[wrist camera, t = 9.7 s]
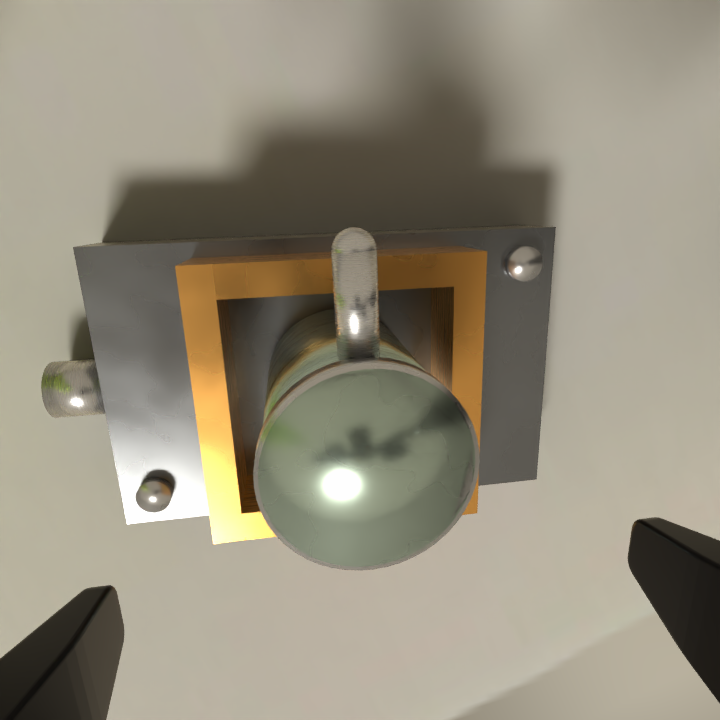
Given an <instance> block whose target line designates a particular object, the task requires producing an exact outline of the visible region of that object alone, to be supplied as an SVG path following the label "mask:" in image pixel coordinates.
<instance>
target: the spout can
mask: <svg viewBox="0 0 720 720" xmlns="http://www.w3.org/2000/svg"><path fill="white" fill-rule="evenodd" d="M331 258H332V275H333V292H334V309H331V310H325V311H321V312H317V313H314V314H312V315H310V316H307V317H305V318H304V319H302V320H300V321H299V322H297V323H296V324H295V325H293V326H292V327H291V328H290V329H289V330H288V331H287V332H286V333H285V334H284V335H283V337H282V338H281V339H280V341H279V342H278V344H277V346H276V348H275V350H274V352H273V355H272V357H271V361H270V365H269V372H268V382H267V391H266V401H265V410H264V420H263V426H262V429H261V431H260V434H259V438H258V442H257V446H256V453H255V461H254V471H253V479H254V490H255V495H256V500H257V503H258V506H259V508H260V511H261V514H262V515H263V517H264V519H265V521H266V523H267V525H268V526H269V527H270V529H271V530H272V531H273V533H274V534H275V535H276V536H277V537H278V538H279V539H280V540H281V541H282V542H283V543H284V544H285V545H286V546H287V547H289V548H290V549H291V550H293V551H294V552H295V553H297V554H299V555H300V556H302V557H304V558H306V559H308V560H310V561H313V562H315V563H318V564H320V565H324V566H328V567H331V568H337V569H344V570H370V569H378V568H383V567H388V566H391V565H394V564H398V563H401V562H403V561H406V560H408V559H410V558H413V557H415V556H416V555H418V554H420V553H422V552H424V551H425V550H427V549H428V548H430V547H431V546H432V545H434V544H435V543H437V542H438V541H439V540H440V539H441V538H442V537H443V536H444V535H446V534H447V533H448V532H449V531H450V529H451V528H452V527H453V526H454V525H455V524H456V523H457V521H458V520H459V518H460V517H461V515H462V514H463V513H464V511H465V509H466V507H467V505H468V503H469V502H470V500H471V497H472V494H473V492H474V489H475V486H476V482H477V478H478V472H479V462H480V460H479V446H478V440H477V435H476V432H475V429H474V426H473V424H472V421H471V420H470V418H469V416H468V414H467V412H466V410H465V409H464V408H463V406H462V405H461V403H460V402H459V401H458V399H457V398H456V397H455V396H454V395H453V394H452V393H451V392H450V391H449V390H448V389H447V388H446V387H445V386H444V385H443V384H442V383H441V382H440V381H439V380H438V379H436V378H435V377H434V376H432V375H431V374H430V373H428V372H427V371H426V370H425V369H424V368H423V367H422V366H421V365H420V364H419V362H418V361H417V360H416V359H415V358H414V357H413V356H412V355H411V353H410V352H409V351H408V350H407V349H406V348H405V347H404V346H403V344H402V343H401V342H400V341H399V340H398V339H397V338H396V337H395V336H394V334H393V333H392V332H391V331H390V330H389V329H388V328H387V327H386V326H385V325H384V324H382V323H381V322H380V321H379V297H378V267H377V246H376V243H375V240H374V238H373V237H372V236H371V234H370V233H368V232H367V231H366V230H364V229H362V228H358V227H350V228H347V229H344V230H342V231H341V232H339V233H338V234H337V236H336V237H335V238H334V240H333V243H332V247H331Z"/></svg>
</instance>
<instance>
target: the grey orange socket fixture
mask: <svg viewBox="0 0 720 720" xmlns="http://www.w3.org/2000/svg"><path fill="white" fill-rule="evenodd" d="M555 228H556V227H546V226H527V225H519V226H495V227H471V228H446V229H422V230H398V231H373V232H368V233H370V234H371V236H372V237H373V238H374V240H375V243H376V246H377V267H378V297H379V321H380V322H381V323H382V324H384V325H385V326H386V327H387V328H388V329H389V330H390V331H391V332H392V333H393V334H394V336H395V337H396V338H397V339H398V340H399V341H400V342H401V343H402V344H403V346H404V347H405V348H406V349H407V350H408V351H409V352H410V353H411V355H412V356H413V357H414V358H415V359H416V360H417V361H418V362H419V364H420V365H421V366H422V367H423V368H424V369H425V370H426V371H427V372H428V373H430V374H431V375H432V376H434V377H435V378H436V379H438V380H439V381H440V382H441V383H442V384H443V385H444V386H445V387H446V388H447V389H448V390H449V391H450V392H451V393H452V394H453V395H454V396H455V397H456V398H457V399H458V401H459V402H460V403H461V405H462V406H463V408H464V409H465V410H466V412H467V414H468V416H469V418H470V420H471V421H472V424H473V426H474V429H475V432H476V435H477V440H478V446H479V460H480V462H479V472H478V478H477V482H476V486H475V489H474V492H473V494H472V497H471V500H470V502H469V503H468V505H467V507H466V509H465V511H464V513H463V514H462V515H465V514H474V513H477V504H478V486H480V485H489V484H498V483H507V482H516V481H525V480H535V479H536V478H537V465H538V452H539V439H540V426H541V412H542V399H543V386H544V373H545V360H546V347H547V333H548V320H549V307H550V294H551V281H552V267H553V254H554V241H555ZM337 234H338V233H324V234H300V235H276V236H251V237H227V238H203V239H178V240H154V241H130V242H105V243H96V244H90V245H84V246H77V247H73V249H74V254H75V259H76V265H77V270H78V275H79V280H80V285H81V290H82V295H83V301H84V306H85V311H86V316H87V321H88V326H89V331H90V336H91V342H92V347H93V352H94V357H95V359H89V360H75V361H60V362H51V363H49V364H48V365H47V366H46V368H45V370H44V373H43V377H42V385H41V389H42V398H43V402H44V405H45V408H46V410H47V411H48V413H49V414H50V415H51V416H52V417H55V418H59V417H71V416H83V415H95V414H106V419H107V424H108V429H109V434H110V439H111V444H112V449H113V455H114V460H115V465H116V470H117V475H118V480H119V485H120V491H121V496H122V501H123V506H124V511H125V516H126V521H127V524H133V523H142V522H151V521H160V520H169V519H179V518H188V517H197V516H206V515H210V522H211V529H212V536H213V544H217V543H225V542H234V541H242V540H251V539H259V538H268V537H277V536H276V535H275V534H274V533H273V531H272V530H271V529H270V527H269V526H268V525H267V523H266V521H265V519H264V517H263V515H262V514H261V511H260V508H259V506H258V503H257V500H256V495H255V490H254V479H253V471H254V461H255V453H256V446H257V442H258V438H259V434H260V431H261V429H262V426H263V420H264V410H265V401H266V391H267V382H268V372H269V365H270V361H271V357H272V355H273V352H274V350H275V348H276V346H277V344H278V342H279V341H280V339H281V338H282V337H283V335H284V334H285V333H286V332H287V331H288V330H289V329H290V328H291V327H292V326H293V325H295V324H296V323H297V322H299V321H300V320H302V319H304V318H305V317H307V316H310V315H312V314H314V313H317V312H321V311H325V310H331V309H334V292H333V275H332V258H331V247H332V243H333V240H334V238H335V237H336V236H337Z"/></svg>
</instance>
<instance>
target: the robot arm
mask: <svg viewBox="0 0 720 720" xmlns="http://www.w3.org/2000/svg"><path fill="white" fill-rule="evenodd" d="M628 564H629V567H630V570H631V572H632V574H633V575H634V577H635V579H636V580H637V582H638V583H639V585H640V587H641V588H642V590H643V591H644V593H645V595H646V596H647V598H648V599H649V601H650V603H651V604H652V606H653V607H654V609H655V611H656V612H657V614H658V615H659V617H660V619H661V620H662V622H663V623H664V625H665V627H666V628H667V630H668V631H669V633H670V635H671V636H672V638H673V639H674V641H675V642H676V644H677V645H678V647H679V648H680V650H681V651H682V653H683V654H684V656H685V657H686V659H687V660H688V661H689V663H690V664H691V666H692V667H693V668H694V670H695V671H696V672H697V673H698V675H699V676H700V677H701V679H702V680H703V682H704V683H705V684H706V686H707V687H708V688H709V690H710V691H711V692H712V694H713V695H714V696H715V697H716V699H717V700H718V702H719V703H720V541H719V540H716V539H714V538H711V537H709V536H706V535H703V534H701V533H698V532H695V531H693V530H690V529H688V528H685V527H682V526H680V525H677V524H674V523H672V522H669V521H667V520H664V519H661V518H656V517H655V518H646V519H639V520H637V521H635V522H634V524H633V526H632V531H631V538H630V545H629V552H628ZM123 642H124V624H123V619H122V614H121V610H120V605H119V600H118V595H117V591H116V590H115V588H114V587H113V586H111V585H107V586H99V587H91V588H87V589H85V590H83V591H82V592H81V593H79V594H78V595H77V596H76V597H74V598H73V599H72V600H71V601H70V602H68V603H67V604H66V605H65V606H64V607H62V608H61V609H60V610H59V611H57V612H56V613H55V614H54V615H53V616H51V617H50V618H49V619H48V620H47V621H45V622H44V623H43V624H42V625H40V626H39V627H38V628H37V629H36V630H34V631H33V632H32V633H31V634H30V635H28V636H27V637H26V638H25V639H24V640H22V641H21V642H20V643H19V644H17V645H16V646H15V647H14V648H13V649H11V650H10V651H9V652H8V653H7V654H5V655H4V656H3V657H2V658H0V720H106V718H107V714H108V709H109V705H110V700H111V696H112V691H113V687H114V682H115V678H116V673H117V669H118V665H119V660H120V656H121V651H122V647H123Z"/></svg>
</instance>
